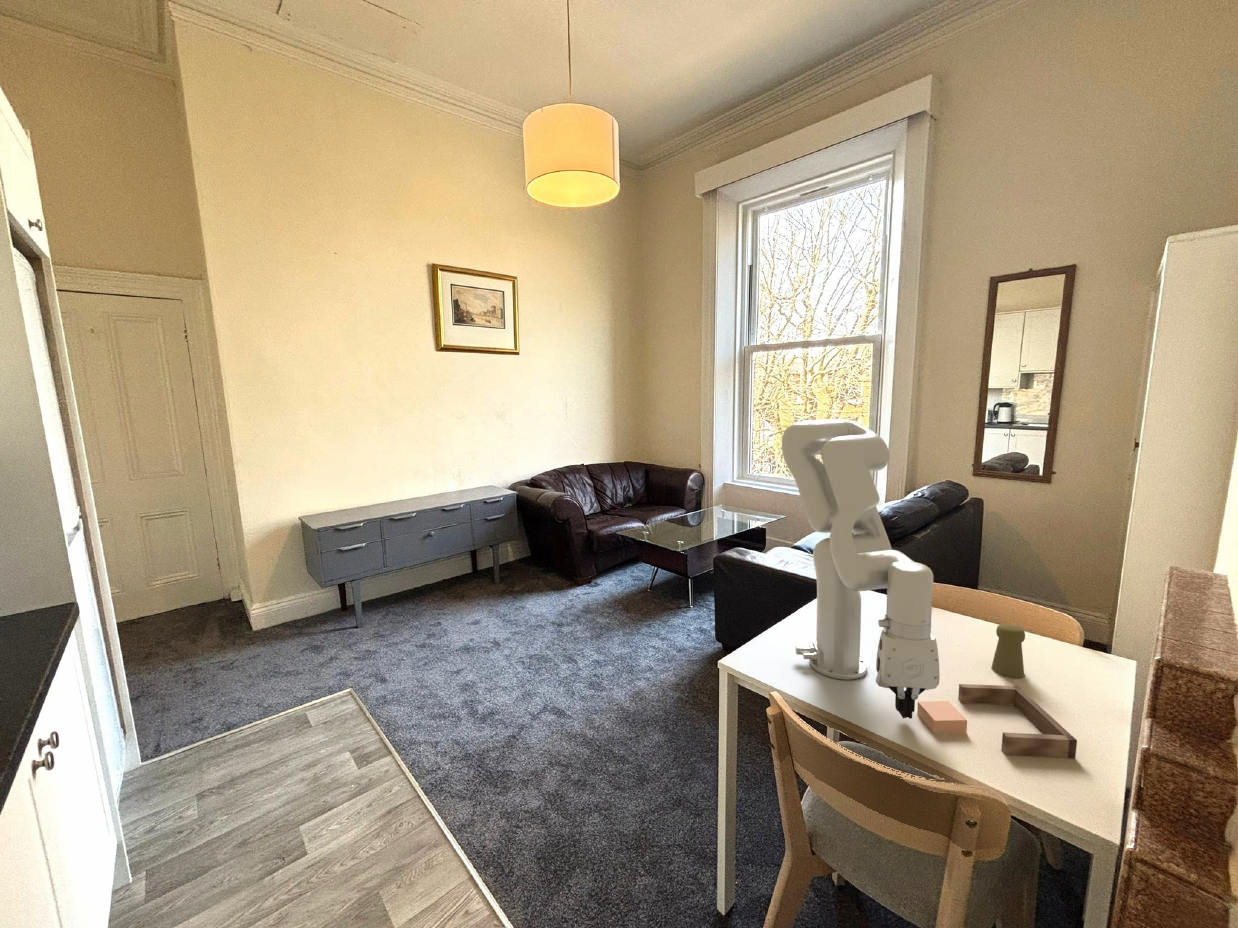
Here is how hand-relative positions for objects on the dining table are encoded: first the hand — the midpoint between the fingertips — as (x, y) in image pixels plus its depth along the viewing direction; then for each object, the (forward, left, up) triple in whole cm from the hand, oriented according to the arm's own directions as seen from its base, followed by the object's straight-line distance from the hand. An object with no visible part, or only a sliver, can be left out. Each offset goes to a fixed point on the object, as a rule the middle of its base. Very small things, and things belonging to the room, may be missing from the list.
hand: (904, 713), depth 101 cm
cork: (+30, +20, -2) cm, 36 cm away
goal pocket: (+19, 0, -2) cm, 19 cm away
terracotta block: (+7, 0, -2) cm, 7 cm away
